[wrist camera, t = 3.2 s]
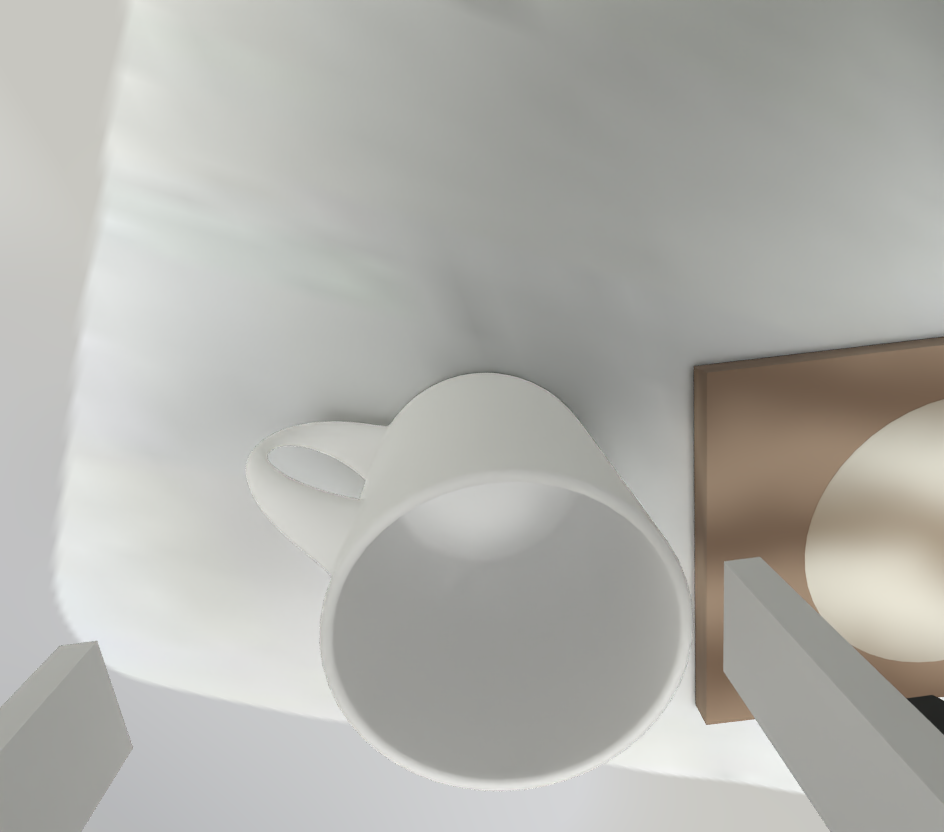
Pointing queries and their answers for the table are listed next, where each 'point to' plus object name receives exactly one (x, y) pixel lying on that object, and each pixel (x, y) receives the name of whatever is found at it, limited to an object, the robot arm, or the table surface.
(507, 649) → the mug
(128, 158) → the table surface
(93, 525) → the table surface
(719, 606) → the board
